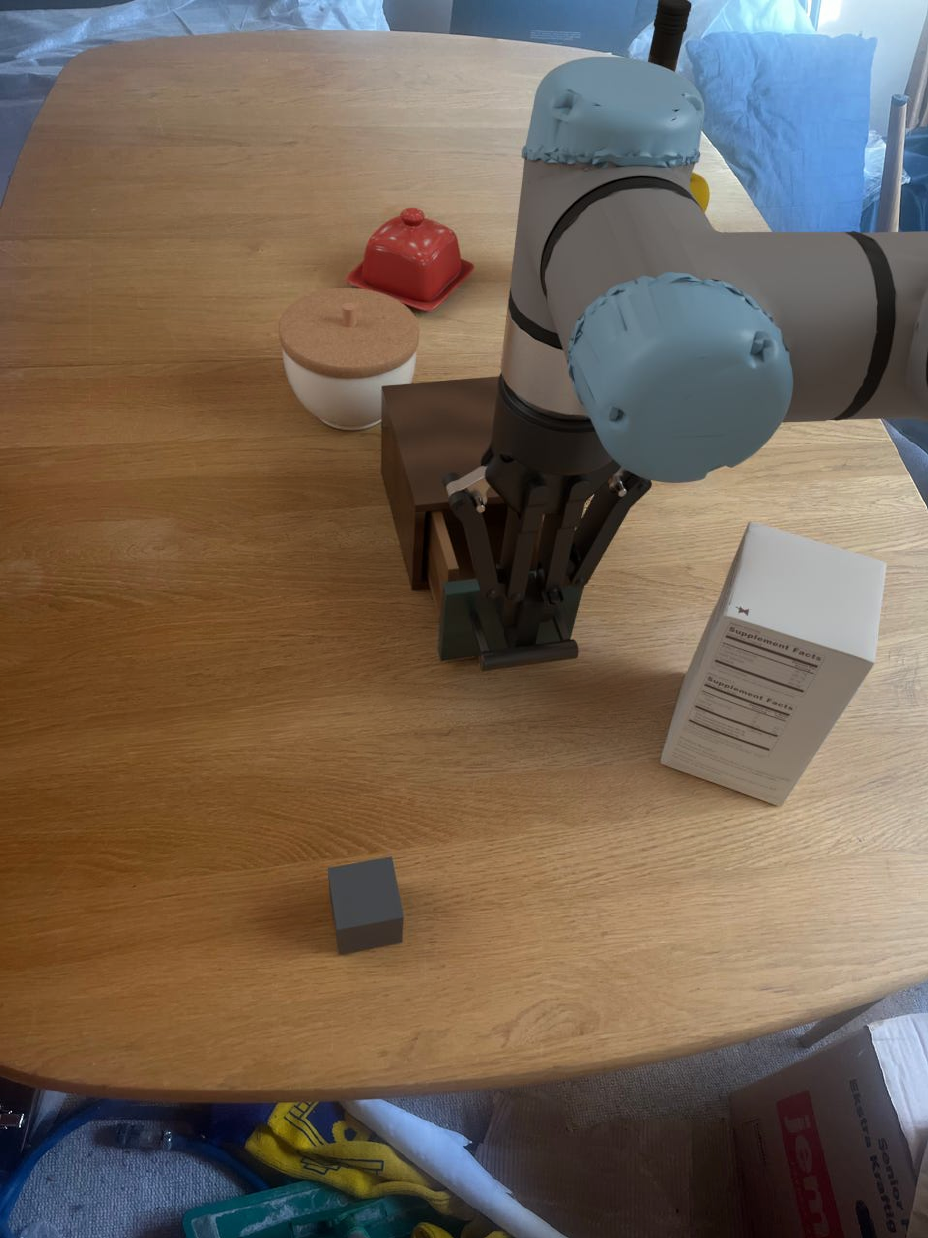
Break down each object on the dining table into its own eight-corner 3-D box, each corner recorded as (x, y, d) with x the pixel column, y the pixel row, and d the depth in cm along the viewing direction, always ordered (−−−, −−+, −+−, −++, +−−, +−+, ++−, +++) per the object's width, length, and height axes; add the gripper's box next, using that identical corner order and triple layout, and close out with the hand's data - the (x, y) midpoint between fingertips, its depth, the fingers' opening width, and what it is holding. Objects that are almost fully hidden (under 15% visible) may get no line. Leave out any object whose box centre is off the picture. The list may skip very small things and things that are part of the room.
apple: (638, 222, 121) (652, 159, 115) (680, 215, 123) (696, 152, 117) (665, 248, 117) (681, 183, 111) (708, 240, 119) (726, 176, 113)
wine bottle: (629, 319, 107) (700, 17, 84) (580, 306, 108) (637, 4, 85) (641, 294, 110) (712, -3, 87) (593, 281, 111) (651, -15, 88)
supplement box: (782, 811, 68) (878, 668, 55) (657, 766, 70) (721, 618, 57) (801, 708, 74) (892, 558, 61) (685, 669, 76) (749, 515, 63)
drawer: (589, 694, 72) (608, 628, 66) (454, 714, 70) (462, 649, 64) (524, 523, 83) (536, 454, 78) (406, 536, 81) (409, 467, 75)
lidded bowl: (426, 443, 91) (432, 343, 82) (292, 454, 88) (283, 352, 80) (404, 363, 98) (407, 264, 90) (280, 371, 96) (271, 270, 88)
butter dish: (339, 290, 106) (337, 216, 100) (392, 245, 113) (393, 173, 106) (430, 323, 103) (434, 249, 97) (479, 275, 110) (485, 203, 104)
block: (402, 942, 60) (404, 917, 57) (338, 955, 59) (336, 930, 56) (391, 883, 62) (391, 855, 59) (329, 894, 62) (327, 867, 59)
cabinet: (546, 573, 81) (563, 489, 74) (411, 590, 79) (415, 505, 71) (502, 459, 90) (514, 374, 83) (380, 472, 88) (381, 385, 80)
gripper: (654, 332, 56) (586, 597, 74) (436, 348, 53) (420, 619, 71) (703, 412, 51) (617, 674, 69) (467, 435, 49) (441, 701, 67)
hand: (517, 646), depth 70 cm, fingers closed
